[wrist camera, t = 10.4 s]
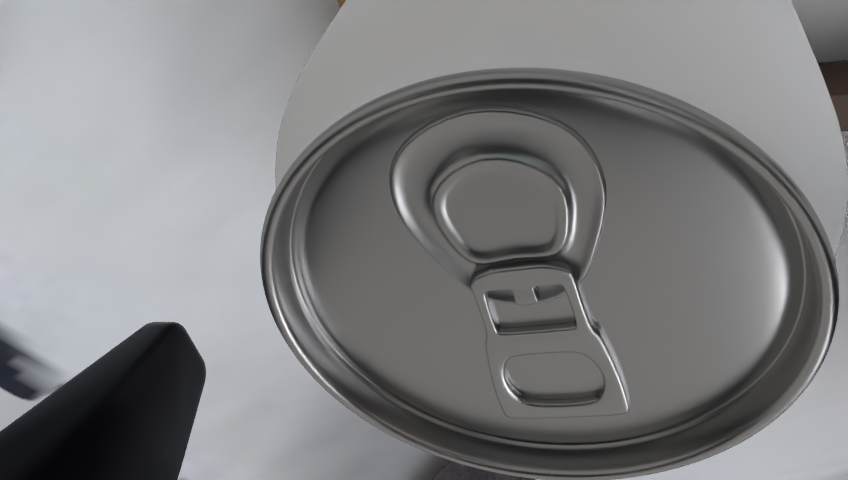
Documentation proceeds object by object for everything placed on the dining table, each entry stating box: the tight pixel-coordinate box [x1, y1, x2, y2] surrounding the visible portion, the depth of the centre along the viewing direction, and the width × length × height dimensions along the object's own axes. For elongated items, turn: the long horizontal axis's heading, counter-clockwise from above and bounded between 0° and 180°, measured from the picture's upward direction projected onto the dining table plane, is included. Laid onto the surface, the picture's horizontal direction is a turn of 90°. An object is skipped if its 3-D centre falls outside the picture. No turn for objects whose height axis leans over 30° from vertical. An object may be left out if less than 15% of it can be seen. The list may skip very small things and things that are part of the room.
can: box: [260, 0, 848, 480], centre depth 12 cm, size 6×6×12 cm
